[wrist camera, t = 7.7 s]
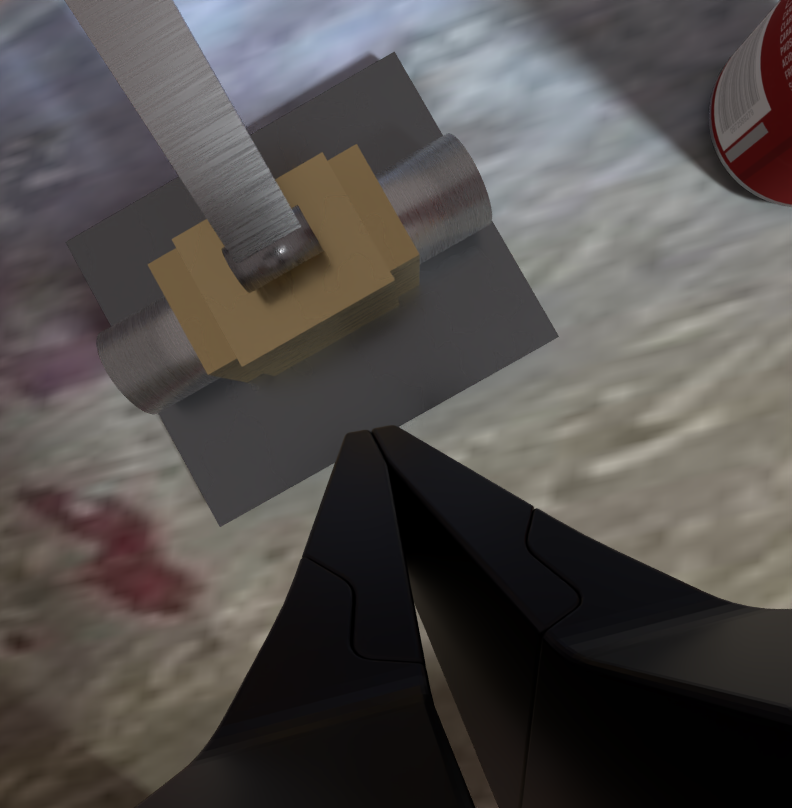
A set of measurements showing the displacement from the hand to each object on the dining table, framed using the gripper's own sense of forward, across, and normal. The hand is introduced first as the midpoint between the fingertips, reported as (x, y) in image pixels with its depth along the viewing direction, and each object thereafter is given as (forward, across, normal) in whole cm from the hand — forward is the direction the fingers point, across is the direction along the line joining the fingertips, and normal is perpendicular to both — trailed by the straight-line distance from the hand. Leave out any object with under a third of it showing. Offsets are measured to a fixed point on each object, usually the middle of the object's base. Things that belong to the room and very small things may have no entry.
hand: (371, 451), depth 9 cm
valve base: (+13, 0, +2) cm, 13 cm away
